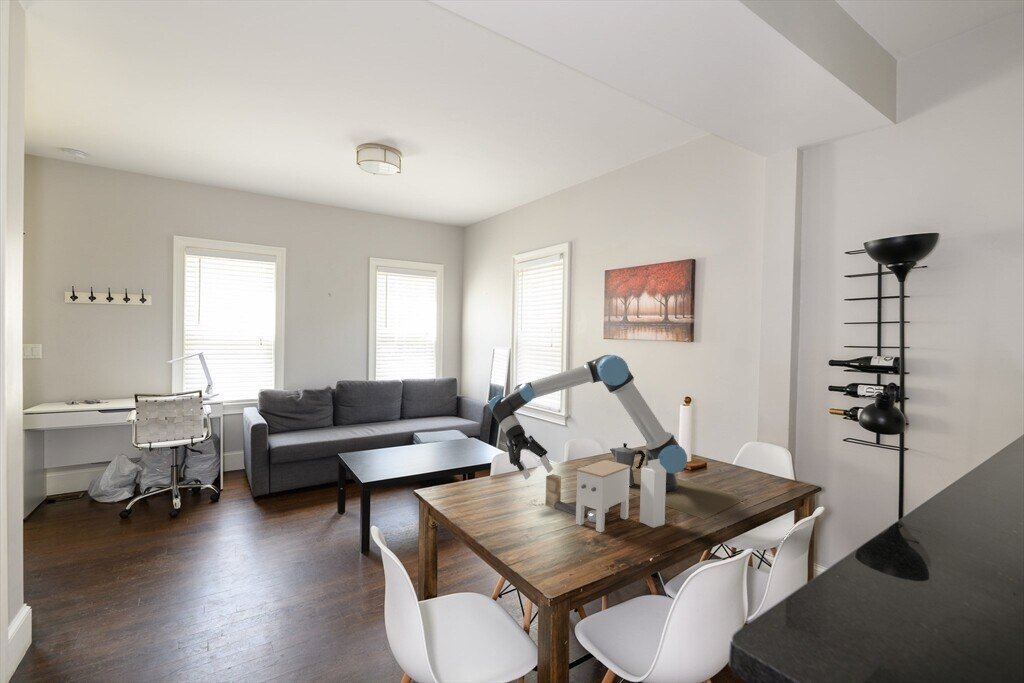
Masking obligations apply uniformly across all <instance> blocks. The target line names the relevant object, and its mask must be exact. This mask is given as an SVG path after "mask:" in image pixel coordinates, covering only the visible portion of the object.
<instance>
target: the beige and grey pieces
mask: <svg viewBox="0 0 1024 683" xmlns="http://www.w3.org/2000/svg"><path fill="white" fill-rule="evenodd" d="M545 483H546V484H545V506H547V507H550V508H553V509H558V510H560V511H563V512H566V513H569V514H572V515H575V516H576V505H573V504H571V503H567V502H564V501H561V496H562V494H561V493H562V476H561V475H558V474H554V473H552V474H548V475H546V476H545ZM585 516H587V509H585V508H584V517H585Z"/></svg>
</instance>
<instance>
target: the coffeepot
mask: <svg viewBox="0 0 1024 683" xmlns="http://www.w3.org/2000/svg"><path fill="white" fill-rule="evenodd" d="M622 445H623V447H612V448H610V449H609V451H611V453H612V455H613V457H614V460H615V461H614V462H616V463H621V464H625V465H629V466H631V468H630V477H629V486H632V485H634V484H635V478H634V470H633V466H634V464H635V457H636V455H640V456H641V457H640V460H639V462H638V465H637V466H635V467H634V468H635V469H636V470H641V468H642V466H643V463H644V461H645V460H646V452H644V451H643V450H641V449H634V448H631V447H627V445H628V443H623V444H622ZM634 486H635V485H634ZM632 487H633V486H632Z"/></svg>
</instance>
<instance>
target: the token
mask: <svg viewBox="0 0 1024 683" xmlns="http://www.w3.org/2000/svg"><path fill="white" fill-rule="evenodd" d="M586 516H587V517H586V518H587V519H586V520H587V521H588V522H589V523H593V524H596V509H593V510H592V509H591V510H588V511H587V513H586Z"/></svg>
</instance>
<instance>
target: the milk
mask: <svg viewBox="0 0 1024 683" xmlns="http://www.w3.org/2000/svg"><path fill="white" fill-rule="evenodd" d="M640 470H641V471H640V494H639V496H640V498H639V501H640V502H639V522H640V523H642V524H644V525H646V526H648V527H650V528H653V529H654V528H657V527H661V526H664V525H665V520H666V519H665V518H666V494H667V493H666V492H667V491H666V469H665V468H664V467H663V466H662V465H661V464H660V459H656V460H650V461H648V465H647V466H646V465H645V466H643V467H642V466H641V468H640Z"/></svg>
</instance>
